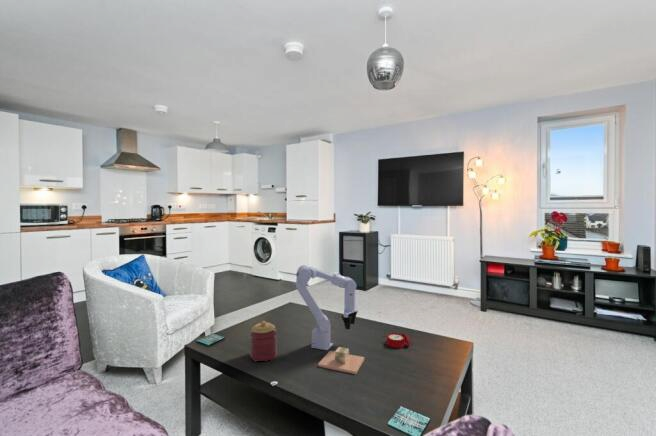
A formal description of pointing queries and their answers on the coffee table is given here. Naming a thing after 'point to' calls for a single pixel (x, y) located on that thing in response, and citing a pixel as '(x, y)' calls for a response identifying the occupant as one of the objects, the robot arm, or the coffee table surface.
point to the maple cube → (342, 355)
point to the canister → (263, 342)
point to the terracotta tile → (349, 367)
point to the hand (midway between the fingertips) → (349, 326)
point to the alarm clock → (397, 340)
